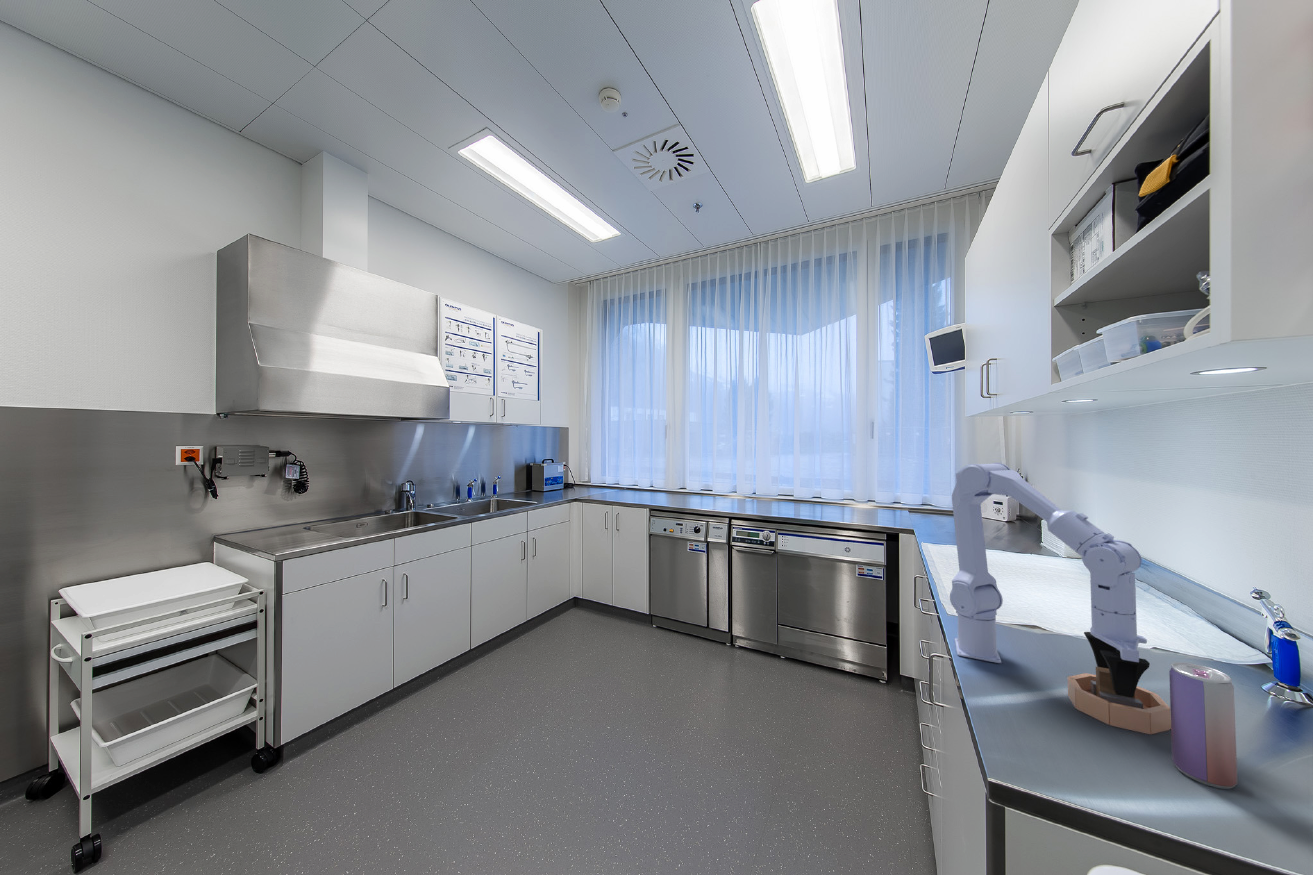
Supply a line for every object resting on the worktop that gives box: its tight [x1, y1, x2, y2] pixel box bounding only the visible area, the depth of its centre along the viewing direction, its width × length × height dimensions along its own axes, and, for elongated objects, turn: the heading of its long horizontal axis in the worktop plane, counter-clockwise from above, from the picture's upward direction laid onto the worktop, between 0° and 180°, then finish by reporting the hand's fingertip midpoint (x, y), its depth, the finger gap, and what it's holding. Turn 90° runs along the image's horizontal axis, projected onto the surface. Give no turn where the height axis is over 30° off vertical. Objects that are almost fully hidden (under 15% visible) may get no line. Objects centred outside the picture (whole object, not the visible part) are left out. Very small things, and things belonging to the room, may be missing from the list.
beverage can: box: [1168, 661, 1238, 790], centre depth 65 cm, size 6×6×15 cm
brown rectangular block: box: [1095, 666, 1135, 699], centre depth 80 cm, size 2×4×6 cm, turn 59°
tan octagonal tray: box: [1066, 672, 1171, 735], centre depth 80 cm, size 12×12×4 cm
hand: (1115, 684), depth 80 cm, fingers open, 7 cm apart
